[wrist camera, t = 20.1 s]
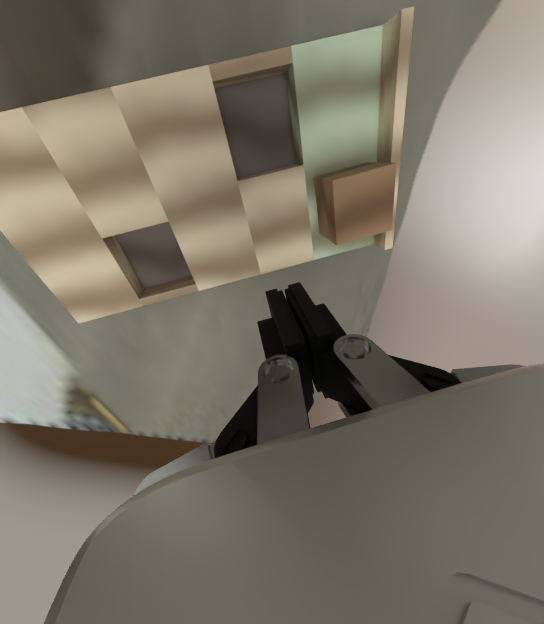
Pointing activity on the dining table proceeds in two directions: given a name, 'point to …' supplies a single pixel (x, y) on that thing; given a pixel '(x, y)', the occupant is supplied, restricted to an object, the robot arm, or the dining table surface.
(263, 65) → the trap deck
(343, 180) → the walnut block
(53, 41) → the dining table surface
